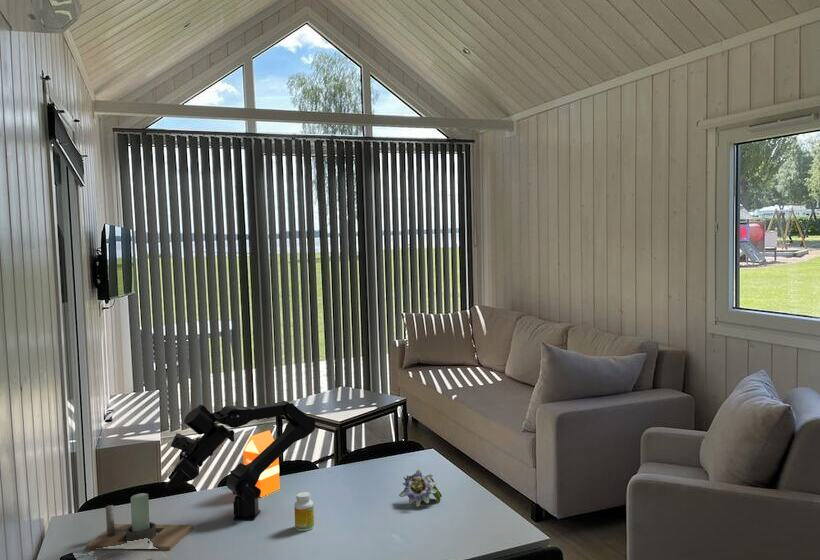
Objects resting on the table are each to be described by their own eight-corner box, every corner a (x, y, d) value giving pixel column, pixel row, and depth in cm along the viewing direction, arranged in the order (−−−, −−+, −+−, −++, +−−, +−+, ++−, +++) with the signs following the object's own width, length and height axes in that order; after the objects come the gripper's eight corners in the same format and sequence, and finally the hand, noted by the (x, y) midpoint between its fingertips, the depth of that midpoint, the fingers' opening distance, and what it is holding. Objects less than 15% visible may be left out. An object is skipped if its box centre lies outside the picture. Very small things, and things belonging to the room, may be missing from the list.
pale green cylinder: (153, 534, 180) (151, 493, 180) (144, 542, 176) (143, 499, 175) (137, 534, 181) (136, 493, 180) (129, 541, 176) (127, 499, 176)
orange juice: (280, 489, 213) (278, 431, 213) (261, 498, 206) (258, 437, 205) (263, 486, 218) (261, 428, 217) (244, 494, 210) (241, 434, 210)
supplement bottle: (310, 532, 179) (308, 498, 178) (292, 531, 180) (291, 497, 179) (316, 524, 184) (315, 491, 184) (299, 523, 185) (298, 490, 185)
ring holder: (193, 528, 184) (191, 497, 184) (170, 550, 170) (168, 517, 170) (114, 527, 186) (113, 497, 186) (86, 549, 172) (84, 516, 172)
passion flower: (418, 523, 195) (395, 496, 193) (416, 504, 206) (394, 477, 203) (448, 503, 194) (425, 475, 192) (444, 485, 205) (423, 458, 202)
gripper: (190, 417, 192) (150, 456, 189) (186, 431, 174) (142, 474, 171) (217, 442, 194) (178, 480, 191) (216, 458, 176) (173, 500, 173)
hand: (167, 483), depth 182 cm, fingers open, 9 cm apart
